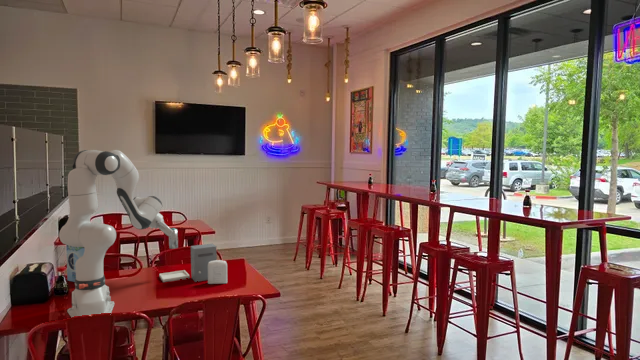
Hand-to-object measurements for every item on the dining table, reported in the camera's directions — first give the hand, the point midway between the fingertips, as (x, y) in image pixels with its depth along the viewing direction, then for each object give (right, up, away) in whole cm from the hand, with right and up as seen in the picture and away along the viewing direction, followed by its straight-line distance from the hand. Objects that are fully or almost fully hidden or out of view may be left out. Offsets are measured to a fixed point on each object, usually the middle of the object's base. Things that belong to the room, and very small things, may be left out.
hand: (174, 236), depth 240 cm
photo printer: (+26, -24, -9) cm, 37 cm away
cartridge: (0, -6, 0) cm, 6 cm away
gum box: (-47, -24, -6) cm, 53 cm away
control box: (+17, -23, 0) cm, 29 cm away
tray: (0, -23, +2) cm, 23 cm away
